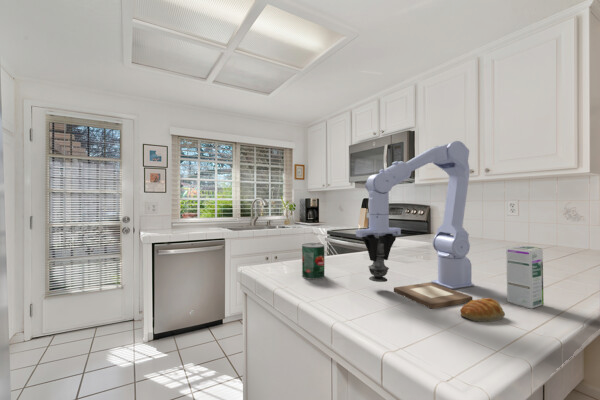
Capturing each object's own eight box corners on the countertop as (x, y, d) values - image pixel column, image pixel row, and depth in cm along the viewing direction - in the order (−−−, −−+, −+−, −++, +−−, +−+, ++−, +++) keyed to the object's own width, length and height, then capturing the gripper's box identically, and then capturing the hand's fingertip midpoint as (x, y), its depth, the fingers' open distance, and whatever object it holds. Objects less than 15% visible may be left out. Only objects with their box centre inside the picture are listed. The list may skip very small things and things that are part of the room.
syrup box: (532, 309, 70) (532, 250, 70) (505, 301, 75) (505, 246, 75) (544, 305, 73) (544, 248, 73) (517, 298, 78) (517, 244, 78)
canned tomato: (325, 279, 97) (325, 246, 97) (302, 279, 97) (301, 246, 97) (323, 273, 105) (323, 243, 105) (302, 273, 105) (302, 243, 105)
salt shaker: (389, 283, 82) (390, 240, 82) (367, 281, 83) (368, 239, 83) (388, 277, 88) (389, 238, 88) (368, 276, 89) (369, 237, 89)
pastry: (479, 326, 62) (479, 308, 62) (451, 315, 68) (451, 298, 68) (507, 319, 65) (507, 302, 65) (478, 308, 71) (478, 293, 71)
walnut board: (430, 286, 89) (430, 281, 89) (472, 301, 76) (472, 296, 76) (393, 291, 84) (393, 287, 84) (431, 308, 71) (431, 303, 71)
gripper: (390, 212, 92) (390, 255, 92) (350, 214, 86) (350, 259, 87) (405, 214, 85) (405, 259, 85) (363, 215, 80) (363, 264, 80)
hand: (378, 260), depth 85 cm, fingers closed on salt shaker, 4 cm apart
